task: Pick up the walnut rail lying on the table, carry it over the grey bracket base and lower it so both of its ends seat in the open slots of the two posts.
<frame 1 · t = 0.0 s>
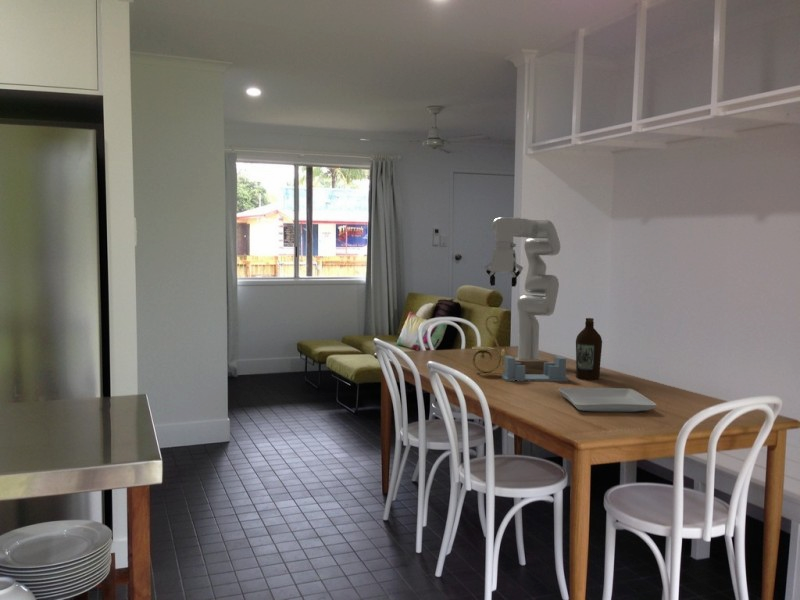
hand: (503, 285, 306), 37 cm above the table, tool pointing down, fingers open, 9 cm apart
wall sconce: (487, 373, 305), on the table
rail: (527, 374, 303), on the table
olive oil: (587, 378, 296), on the table
grey bracket base: (534, 378, 292), on the table
square plate: (604, 406, 246), on the table
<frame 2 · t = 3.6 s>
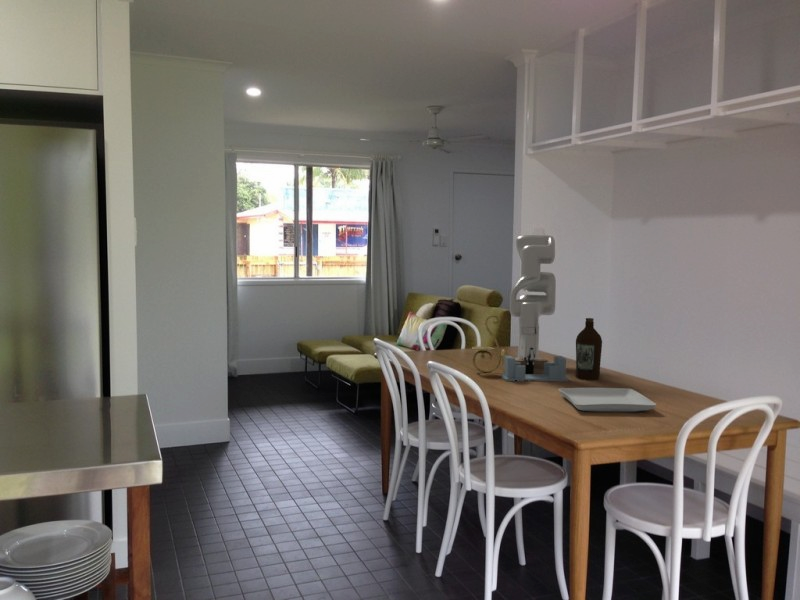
hand: (528, 372, 303), 1 cm above the table, tool pointing down, fingers closed on rail, 4 cm apart
rail: (527, 374, 303), on the table, touching gripper
everything else where it was.
when the fingers open (3 cm above the table, at t = 8.1 s): rail stays where it is, resting on grey bracket base.
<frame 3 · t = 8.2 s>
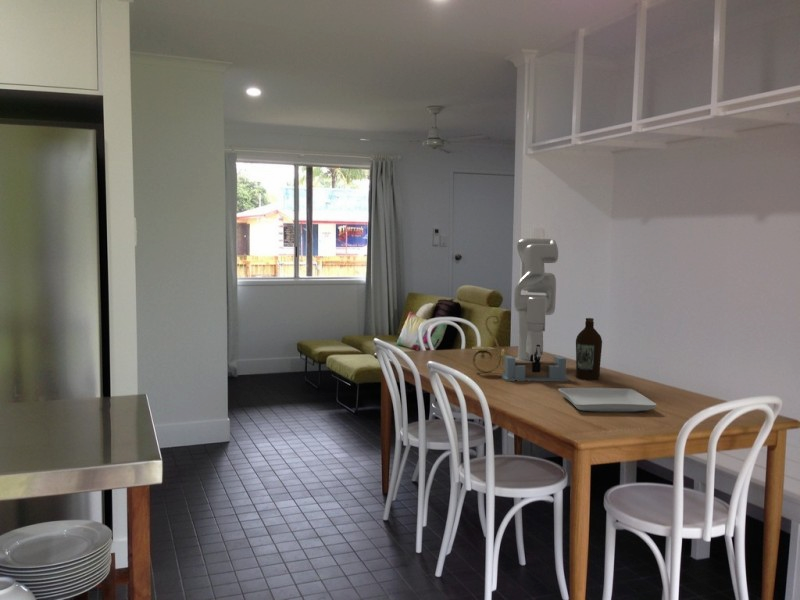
hand: (534, 370, 292), 3 cm above the table, tool pointing down, fingers open, 4 cm apart
rail: (534, 376, 292), point 1 cm above the table, touching grey bracket base
everything else where it was.
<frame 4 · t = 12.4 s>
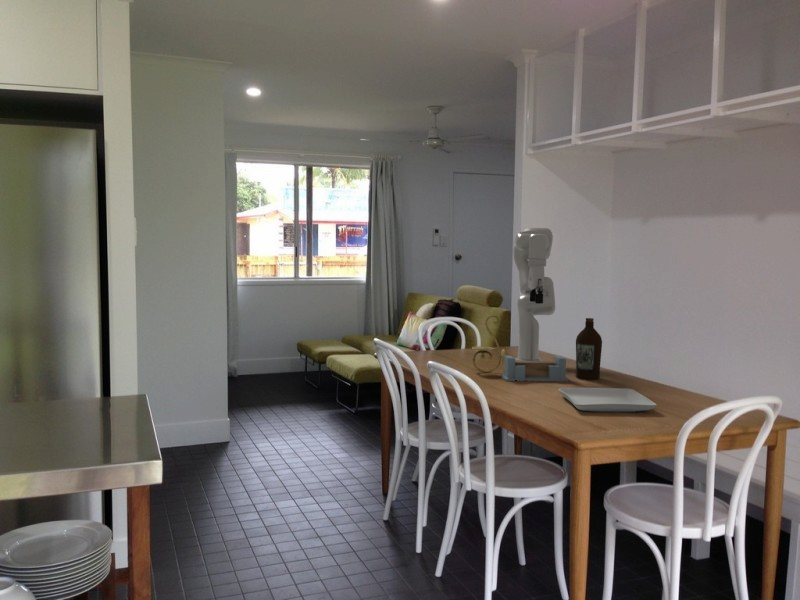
hand: (536, 302, 306), 30 cm above the table, tool pointing down, fingers open, 9 cm apart
nothing on the table moved.
at the end: rail 0.1 cm off-centre on the grey bracket base, point 1.0 cm above the grey bracket base's base; rail tilted 0°; the gripper is holding nothing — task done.
